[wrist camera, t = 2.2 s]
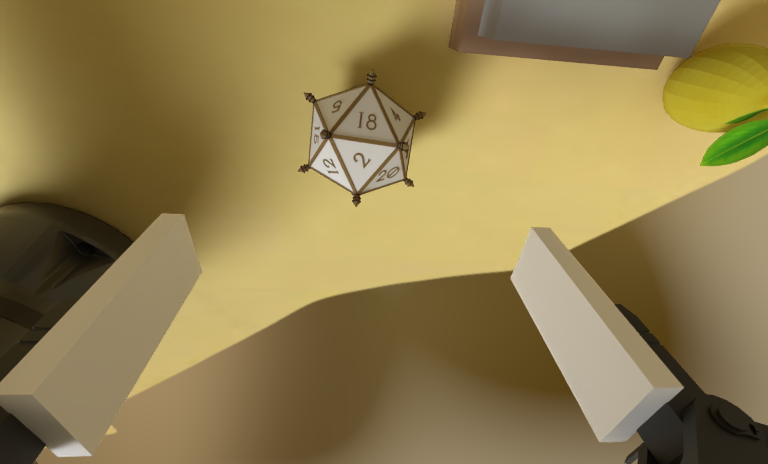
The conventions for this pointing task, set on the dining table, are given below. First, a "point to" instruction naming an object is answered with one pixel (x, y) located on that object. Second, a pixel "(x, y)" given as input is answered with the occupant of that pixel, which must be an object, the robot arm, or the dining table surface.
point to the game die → (360, 139)
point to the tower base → (582, 29)
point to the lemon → (723, 99)
